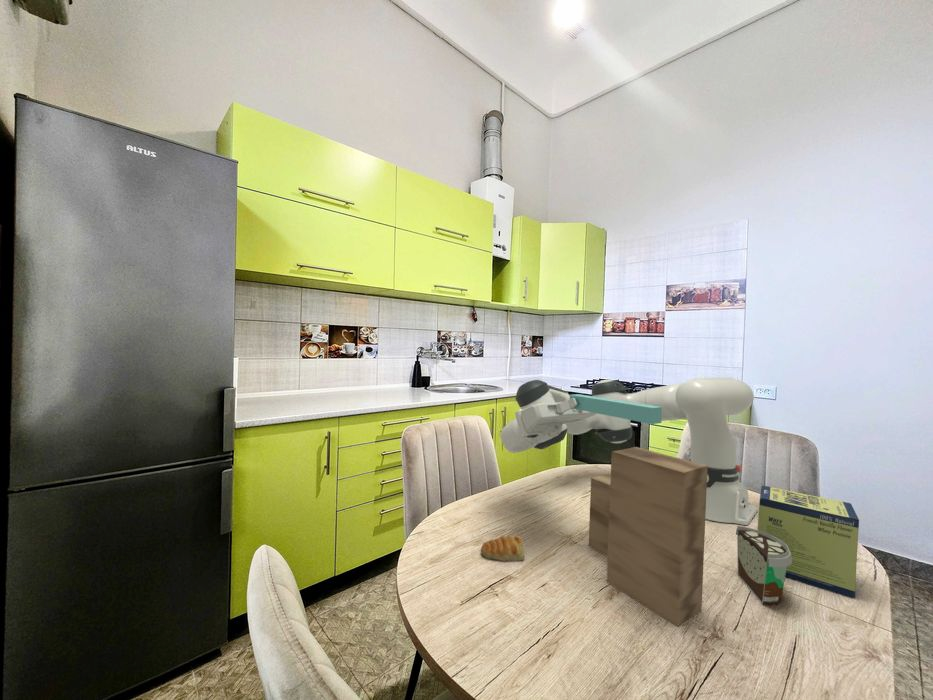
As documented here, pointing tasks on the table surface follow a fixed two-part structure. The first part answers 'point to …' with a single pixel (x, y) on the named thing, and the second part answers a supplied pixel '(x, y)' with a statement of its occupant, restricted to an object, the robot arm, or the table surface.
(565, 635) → the table surface
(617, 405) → the teal block
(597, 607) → the table surface
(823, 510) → the protein box
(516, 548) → the pastry
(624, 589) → the walnut stand
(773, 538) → the food container
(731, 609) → the table surface
